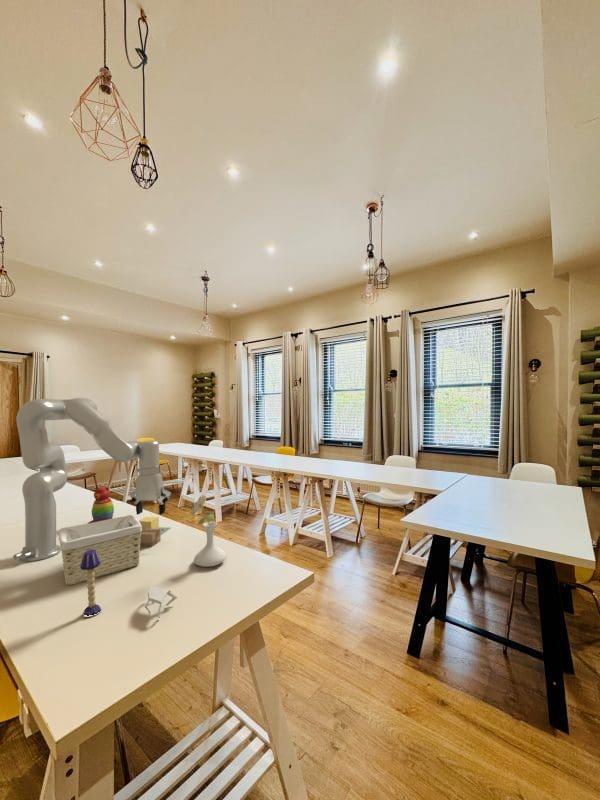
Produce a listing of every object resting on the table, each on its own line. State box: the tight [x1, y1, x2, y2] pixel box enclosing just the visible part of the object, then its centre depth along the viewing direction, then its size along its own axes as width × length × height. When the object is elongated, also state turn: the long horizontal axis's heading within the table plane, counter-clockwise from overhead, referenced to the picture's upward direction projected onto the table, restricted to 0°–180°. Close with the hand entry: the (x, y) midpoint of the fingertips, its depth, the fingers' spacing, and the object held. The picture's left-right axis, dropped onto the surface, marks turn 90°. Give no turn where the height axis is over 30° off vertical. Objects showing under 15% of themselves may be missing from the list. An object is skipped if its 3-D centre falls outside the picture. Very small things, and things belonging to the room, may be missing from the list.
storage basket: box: [58, 514, 142, 586], centre depth 118 cm, size 24×16×15 cm
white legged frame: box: [144, 585, 178, 619], centre depth 93 cm, size 12×8×5 cm
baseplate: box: [159, 526, 172, 537], centre depth 149 cm, size 14×14×1 cm
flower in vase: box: [190, 494, 227, 568], centre depth 121 cm, size 13×11×25 cm
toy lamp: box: [80, 550, 102, 616], centre depth 92 cm, size 5×5×17 cm
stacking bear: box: [86, 486, 115, 524], centre depth 164 cm, size 11×10×18 cm
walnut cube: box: [140, 529, 161, 548], centre depth 137 cm, size 6×6×6 cm
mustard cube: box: [138, 516, 160, 532], centre depth 149 cm, size 6×6×6 cm
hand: (150, 513), depth 137 cm, fingers open, 9 cm apart
